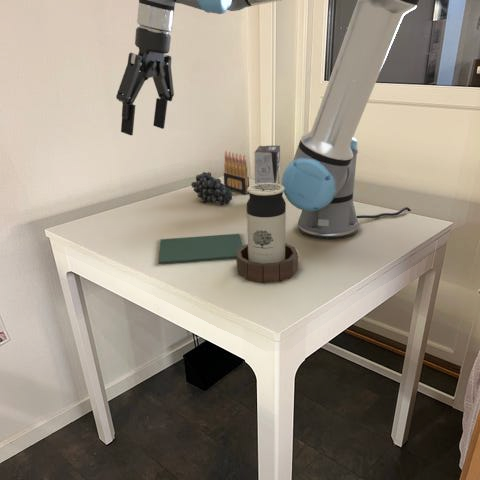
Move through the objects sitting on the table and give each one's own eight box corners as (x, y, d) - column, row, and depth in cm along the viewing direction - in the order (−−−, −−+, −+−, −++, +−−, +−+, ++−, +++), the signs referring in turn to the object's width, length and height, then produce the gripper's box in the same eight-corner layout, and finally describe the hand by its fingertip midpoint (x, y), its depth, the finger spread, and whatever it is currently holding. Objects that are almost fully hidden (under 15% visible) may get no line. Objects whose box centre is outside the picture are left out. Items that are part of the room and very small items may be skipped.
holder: (290, 255, 112) (290, 239, 110) (302, 279, 101) (302, 262, 99) (234, 259, 111) (234, 243, 109) (240, 284, 100) (239, 267, 98)
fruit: (235, 174, 140) (203, 165, 149) (215, 190, 137) (183, 179, 146) (243, 200, 146) (211, 189, 155) (224, 215, 143) (192, 203, 152)
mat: (239, 235, 123) (239, 233, 123) (245, 257, 112) (245, 255, 111) (161, 241, 122) (160, 239, 122) (158, 264, 110) (158, 261, 110)
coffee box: (276, 209, 140) (276, 152, 132) (254, 208, 141) (253, 151, 133) (280, 199, 148) (280, 144, 139) (259, 199, 149) (259, 144, 141)
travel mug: (259, 259, 111) (257, 180, 101) (291, 265, 107) (292, 184, 98) (242, 272, 105) (238, 190, 95) (274, 279, 101) (274, 195, 92)
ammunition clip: (224, 188, 161) (221, 151, 155) (228, 187, 162) (226, 150, 156) (245, 194, 154) (244, 155, 148) (249, 193, 155) (248, 154, 149)
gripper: (169, 28, 115) (158, 120, 127) (103, 21, 95) (97, 131, 107) (196, 36, 113) (182, 129, 125) (135, 31, 93) (125, 141, 105)
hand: (143, 130), depth 116 cm, fingers open, 13 cm apart
